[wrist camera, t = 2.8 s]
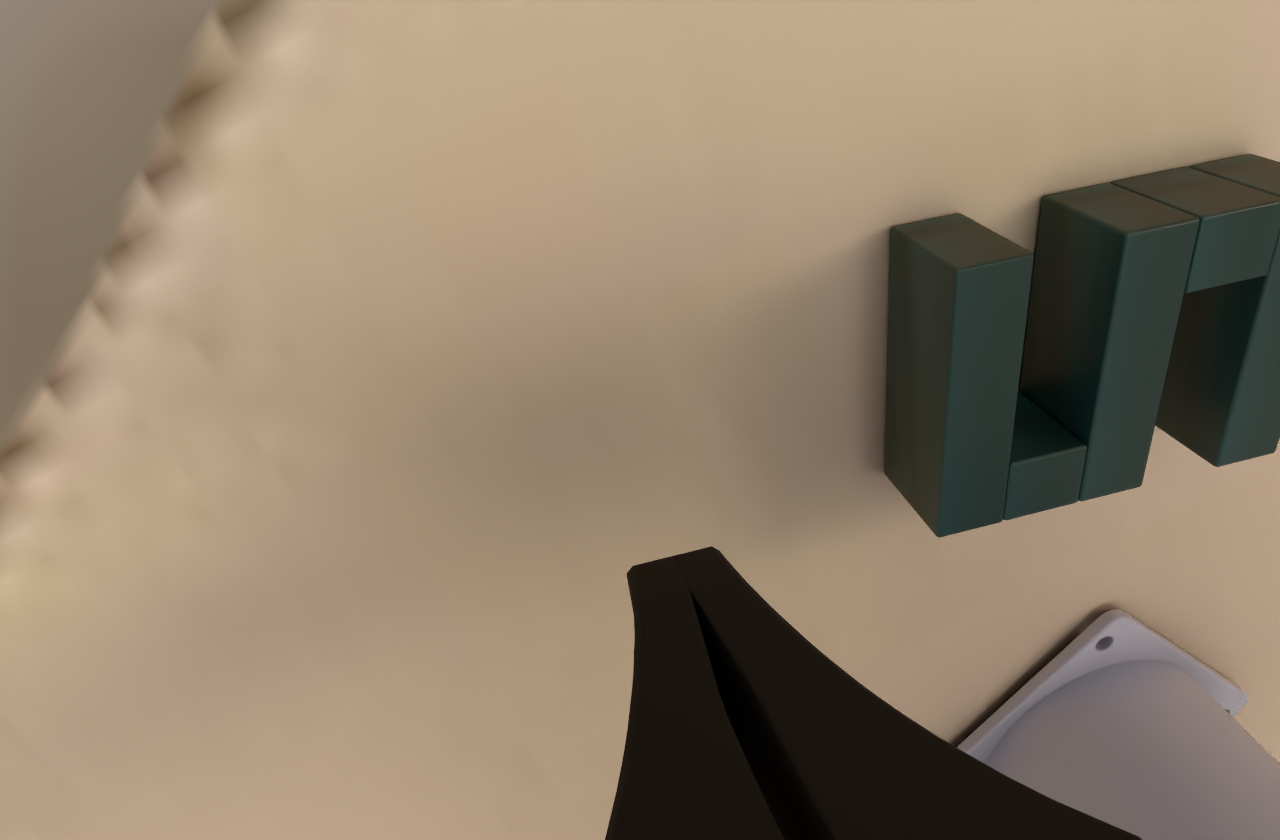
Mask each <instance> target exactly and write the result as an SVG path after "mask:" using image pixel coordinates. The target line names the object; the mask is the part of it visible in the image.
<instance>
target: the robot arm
mask: <svg viewBox="0 0 1280 840" xmlns="http://www.w3.org/2000/svg"><path fill="white" fill-rule="evenodd" d="M627 579H628V585H629V590H630V596H631V601H632V607H633V612H634V627H635V646H634V673H633V687H632V696H631V704H630V713H629V722H628V730H627V737H626V743H625V750H624V756H623V761H622V767H621V772H620V777H619V782H618V787H617V792H616V796H615V801H614V805H613V809H612V813H611V817H610V822H609V826H608V830H607V834H606V838H605V840H1280V763H1279V762H1278V761H1277V760H1276V759H1275V758H1274V757H1273V756H1271V755H1270V754H1269V753H1268V752H1267V751H1266V750H1265V749H1264V748H1263V747H1262V746H1261V745H1260V744H1259V743H1258V742H1257V741H1256V740H1255V739H1254V738H1253V737H1252V736H1251V735H1250V734H1249V733H1248V732H1247V731H1246V730H1245V729H1244V728H1243V727H1242V726H1241V725H1240V724H1239V723H1238V722H1237V721H1236V720H1235V719H1234V718H1233V717H1232V716H1234V715H1235V714H1236V713H1237V712H1238V711H1240V710H1241V709H1242V708H1243V707H1244V706H1245V704H1246V703H1247V698H1248V696H1247V694H1246V693H1245V692H1244V691H1243V690H1242V689H1241V688H1240V687H1238V686H1237V685H1236V684H1234V683H1232V682H1231V681H1229V680H1228V679H1226V678H1225V677H1223V676H1222V675H1220V674H1219V673H1217V672H1216V671H1214V670H1213V669H1211V668H1210V667H1208V666H1207V665H1205V664H1203V663H1202V662H1200V661H1199V660H1197V659H1196V658H1194V657H1193V656H1191V655H1190V654H1188V653H1187V652H1185V651H1184V650H1182V649H1181V648H1179V647H1178V646H1176V645H1175V644H1173V643H1171V642H1170V641H1168V640H1167V639H1165V638H1164V637H1162V636H1161V635H1159V634H1158V633H1156V632H1155V631H1153V630H1152V629H1150V628H1149V627H1147V626H1146V625H1144V624H1142V623H1141V622H1139V621H1138V620H1136V619H1135V618H1133V617H1132V616H1130V615H1129V614H1127V613H1126V612H1124V611H1122V610H1119V609H1115V610H1109V611H1107V612H1105V613H1103V614H1102V615H1101V616H1099V617H1098V618H1097V619H1096V620H1095V621H1094V622H1093V623H1092V624H1091V625H1090V626H1088V627H1087V628H1086V629H1085V630H1084V631H1083V632H1082V633H1081V634H1080V635H1079V636H1077V637H1076V638H1075V639H1074V640H1073V641H1072V642H1071V643H1070V644H1069V645H1068V646H1067V647H1065V648H1064V649H1063V650H1062V651H1061V652H1060V653H1059V654H1058V655H1057V656H1056V657H1055V658H1053V659H1052V660H1051V661H1050V662H1049V663H1048V664H1047V665H1046V666H1045V667H1044V668H1043V669H1041V670H1040V671H1039V672H1038V673H1037V674H1036V675H1035V676H1034V677H1033V678H1032V679H1031V680H1029V681H1028V682H1027V683H1026V684H1025V685H1024V686H1023V687H1022V688H1021V689H1020V690H1018V691H1017V692H1016V693H1015V694H1014V695H1013V696H1012V697H1011V698H1010V699H1009V700H1008V701H1006V702H1005V703H1004V704H1003V705H1002V706H1001V707H1000V708H999V709H998V710H997V711H996V712H994V713H993V714H992V715H991V716H990V717H989V718H988V719H987V720H986V721H985V722H984V723H982V724H981V725H980V726H979V727H978V728H977V729H976V730H975V731H974V732H973V733H972V734H970V735H969V736H968V737H967V738H966V739H965V740H964V741H963V742H962V743H961V744H959V745H958V746H957V747H955V746H953V745H951V744H949V743H948V742H946V741H944V740H942V739H941V738H939V737H938V736H936V735H934V734H933V733H931V732H930V731H928V730H927V729H925V728H924V727H922V726H920V725H919V724H917V723H916V722H914V721H913V720H911V719H910V718H908V717H907V716H905V715H904V714H902V713H901V712H899V711H898V710H896V709H895V708H893V707H892V706H891V705H889V704H888V703H886V702H885V701H883V700H882V699H881V698H879V697H878V696H876V695H875V694H874V693H872V692H871V691H870V690H868V689H867V688H865V687H864V686H863V685H862V684H860V683H859V682H858V681H856V680H855V679H854V678H852V677H851V676H850V675H849V674H847V673H846V672H845V671H844V670H842V669H841V668H840V667H839V666H837V665H836V664H835V663H834V662H832V661H831V660H830V659H829V658H828V657H826V656H825V655H824V654H823V653H822V652H820V651H819V650H818V649H817V648H816V647H815V646H813V645H812V644H811V643H810V642H809V641H808V640H807V639H805V638H804V637H803V636H802V635H801V634H800V633H799V632H798V631H797V630H796V629H794V628H793V627H792V626H791V625H790V624H789V623H788V622H787V621H786V620H785V619H784V618H782V617H781V616H780V615H779V614H778V613H777V612H776V611H775V610H774V609H773V608H772V607H771V606H770V605H769V604H768V603H767V602H766V601H765V600H764V599H763V598H762V597H761V596H760V595H759V594H758V593H757V592H756V591H755V590H754V589H753V588H752V587H751V586H750V585H749V584H748V583H747V582H746V581H745V579H744V578H743V577H742V576H741V575H740V574H739V573H738V572H737V571H736V570H735V569H734V567H733V566H732V565H731V564H730V563H729V562H728V561H727V559H726V558H725V557H724V556H723V555H722V553H721V552H720V551H719V550H717V549H715V548H714V547H708V548H704V549H700V550H696V551H692V552H688V553H684V554H680V555H676V556H671V557H667V558H663V559H659V560H655V561H651V562H647V563H643V564H639V565H635V566H633V567H632V568H631V569H630V570H629V571H628V573H627Z"/></svg>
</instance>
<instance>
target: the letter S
mask: <svg viewBox="0 0 1280 840" xmlns="http://www.w3.org/2000/svg"><path fill="white" fill-rule="evenodd" d="M1033 261H1034V254H1033V253H1032V252H1030V251H1028V250H1026V249H1024V248H1023V247H1021V246H1019V245H1017V244H1015V243H1013V242H1012V241H1010V240H1008V239H1006V238H1004V237H1003V236H1001V235H999V234H997V233H995V232H993V231H992V230H990V229H988V228H986V227H984V226H983V225H981V224H979V223H977V222H975V221H973V220H972V219H970V218H968V217H966V216H964V215H962V214H960V213H958V214H953V215H948V216H943V217H938V218H934V219H929V220H924V221H919V222H914V223H909V224H904V225H900V226H895V227H892V228H891V244H890V282H889V319H888V357H887V395H886V433H885V471H884V472H885V475H886V476H887V477H888V478H889V480H890V481H891V482H892V483H893V484H894V486H895V487H896V488H897V489H898V490H899V492H900V493H901V494H902V495H903V497H904V498H905V499H906V500H907V501H908V503H909V504H910V505H911V506H912V507H913V509H914V510H915V511H916V512H917V513H918V515H919V516H920V517H921V518H922V519H923V521H924V522H925V523H926V524H927V525H928V527H929V528H930V529H931V530H932V531H933V533H934V534H935V535H936V536H937V537H943V536H947V535H951V534H955V533H959V532H963V531H967V530H971V529H975V528H979V527H983V526H987V525H991V524H995V523H999V522H1001V521H1002V520H1003V519H1004V520H1009V519H1013V518H1017V517H1021V516H1025V515H1029V514H1033V513H1037V512H1041V511H1045V510H1049V509H1053V508H1057V507H1061V506H1065V505H1069V504H1073V503H1076V502H1077V501H1078V500H1079V501H1085V500H1089V499H1093V498H1097V497H1101V496H1105V495H1109V494H1113V493H1117V492H1121V491H1125V490H1129V489H1133V488H1137V487H1140V486H1141V485H1142V481H1143V477H1144V472H1145V468H1146V463H1147V459H1148V454H1149V450H1150V445H1151V441H1152V436H1153V432H1154V427H1155V425H1156V426H1157V427H1158V428H1160V429H1161V430H1163V431H1164V432H1166V433H1167V434H1169V435H1170V436H1171V437H1173V438H1174V439H1176V440H1177V441H1179V442H1180V443H1182V444H1183V445H1184V446H1186V447H1187V448H1189V449H1190V450H1192V451H1193V452H1195V453H1196V454H1197V455H1199V456H1200V457H1202V458H1203V459H1205V460H1206V461H1208V462H1209V463H1210V464H1212V465H1213V466H1216V467H1219V466H1223V465H1227V464H1231V463H1235V462H1239V461H1243V460H1247V459H1251V458H1255V457H1259V456H1263V455H1267V454H1271V453H1273V452H1275V450H1276V448H1277V444H1278V441H1279V438H1280V162H1277V161H1274V160H1270V159H1267V158H1263V157H1260V156H1256V155H1253V154H1247V155H1242V156H1237V157H1233V158H1228V159H1223V160H1218V161H1213V162H1208V163H1203V164H1199V165H1194V166H1190V167H1182V168H1177V169H1172V170H1167V171H1162V172H1157V173H1153V174H1148V175H1143V176H1138V177H1133V178H1128V179H1123V180H1118V181H1114V182H1111V183H1105V184H1101V185H1096V186H1091V187H1086V188H1081V189H1076V190H1071V191H1067V192H1062V193H1057V194H1052V195H1047V196H1044V197H1043V199H1042V206H1041V214H1040V223H1039V231H1038V239H1037V248H1036V256H1035V264H1034V273H1033V281H1032V289H1031V298H1030V306H1029V314H1028V323H1027V331H1026V340H1025V348H1024V356H1023V365H1022V373H1021V381H1020V390H1019V391H1018V387H1019V379H1020V370H1021V362H1022V353H1023V345H1024V337H1025V328H1026V320H1027V311H1028V303H1029V295H1030V286H1031V278H1032V269H1033Z"/></svg>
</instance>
